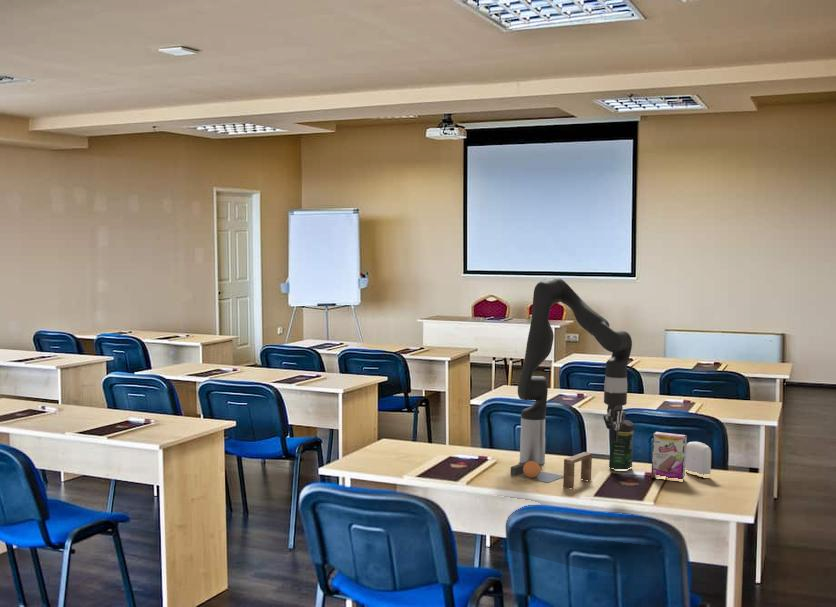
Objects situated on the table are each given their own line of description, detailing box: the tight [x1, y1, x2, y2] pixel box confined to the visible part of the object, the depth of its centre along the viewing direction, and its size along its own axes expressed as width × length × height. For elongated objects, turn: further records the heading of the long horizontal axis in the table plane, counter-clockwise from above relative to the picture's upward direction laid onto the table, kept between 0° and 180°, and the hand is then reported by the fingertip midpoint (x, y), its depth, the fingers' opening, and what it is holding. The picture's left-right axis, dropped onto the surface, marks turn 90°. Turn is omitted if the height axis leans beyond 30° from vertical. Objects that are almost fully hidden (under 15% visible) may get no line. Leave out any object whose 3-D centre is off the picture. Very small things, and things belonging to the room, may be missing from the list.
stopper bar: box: [509, 461, 529, 477], centre depth 313 cm, size 12×2×3 cm, turn 142°
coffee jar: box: [608, 419, 635, 469], centre depth 321 cm, size 10×8×19 cm
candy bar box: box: [651, 431, 688, 479], centre depth 308 cm, size 11×5×16 cm, turn 65°
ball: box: [523, 461, 541, 478], centre depth 306 cm, size 6×6×6 cm
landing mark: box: [518, 470, 564, 484], centre depth 308 cm, size 12×12×1 cm
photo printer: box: [685, 441, 712, 475], centre depth 315 cm, size 10×4×12 cm, turn 26°
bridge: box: [562, 451, 593, 489], centre depth 299 cm, size 3×15×10 cm, turn 142°
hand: (613, 441), depth 291 cm, fingers closed
